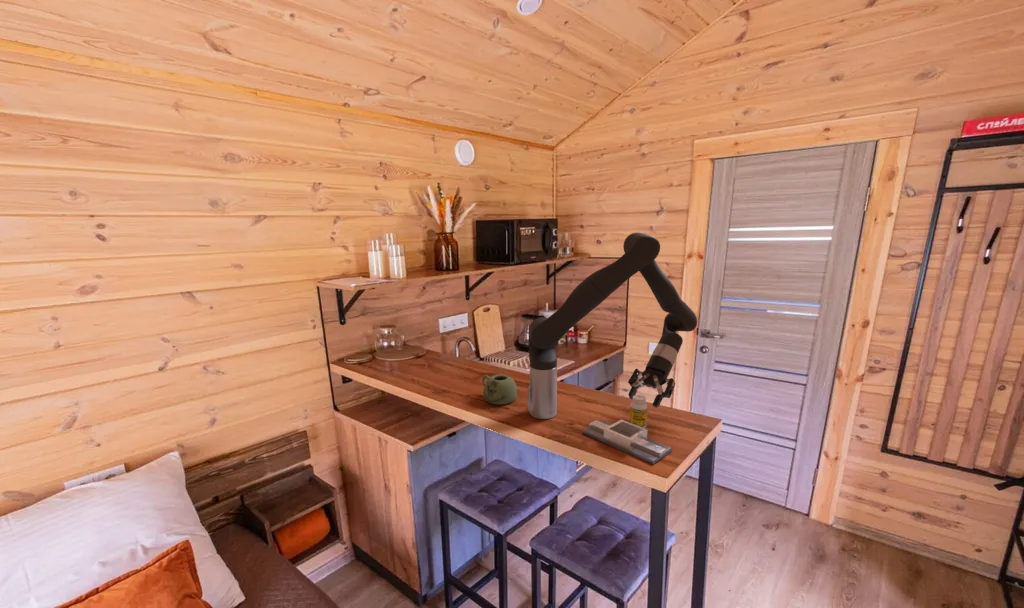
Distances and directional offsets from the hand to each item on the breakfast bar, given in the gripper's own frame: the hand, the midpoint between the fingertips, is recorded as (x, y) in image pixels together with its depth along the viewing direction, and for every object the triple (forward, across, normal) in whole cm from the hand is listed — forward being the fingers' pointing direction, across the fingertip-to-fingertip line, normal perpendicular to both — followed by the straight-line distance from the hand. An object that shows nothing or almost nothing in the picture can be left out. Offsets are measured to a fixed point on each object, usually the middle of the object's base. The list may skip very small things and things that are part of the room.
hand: (642, 402), depth 134 cm
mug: (+20, -48, -9) cm, 53 cm away
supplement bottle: (+7, 0, +4) cm, 8 cm away
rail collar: (+15, +3, -5) cm, 16 cm away
